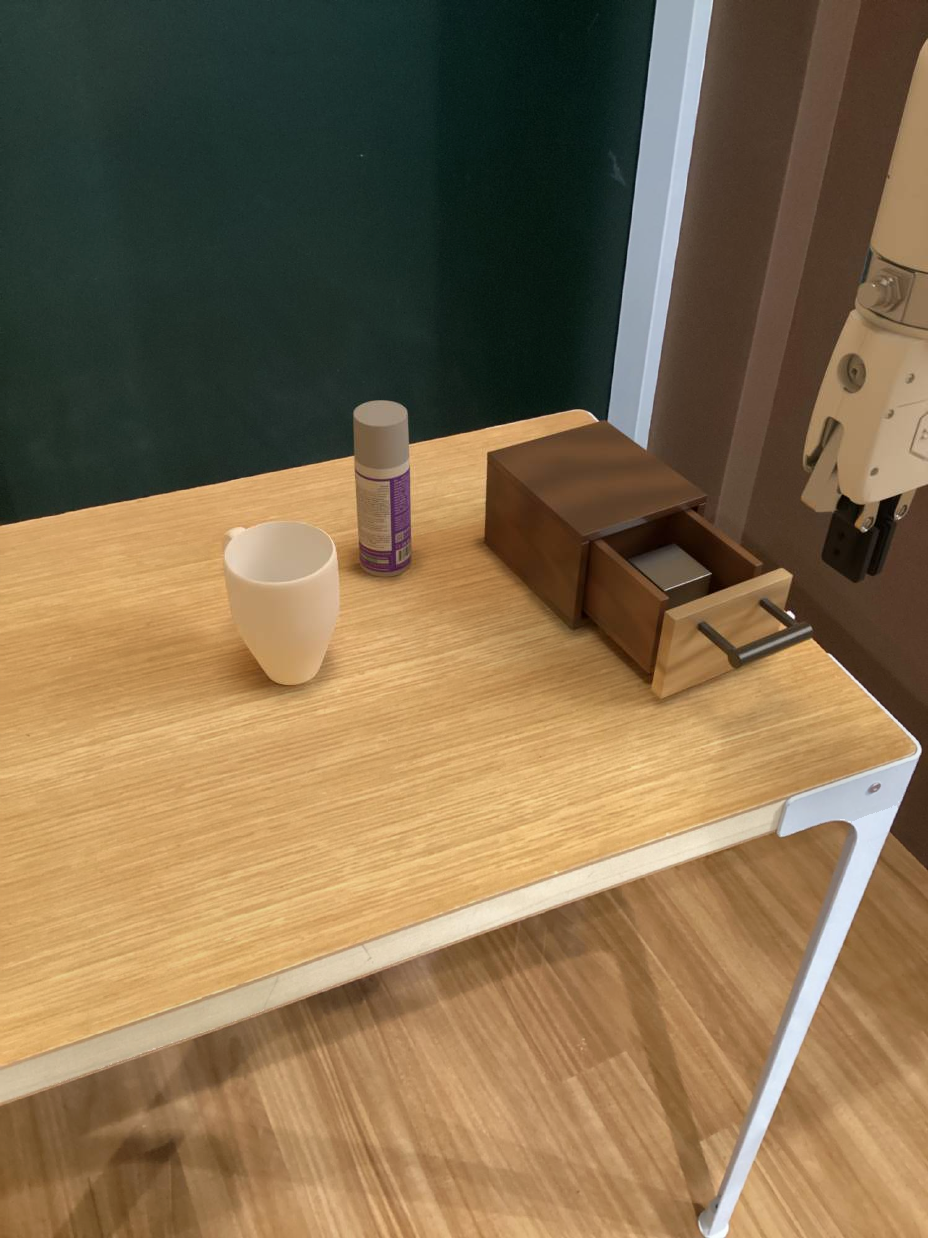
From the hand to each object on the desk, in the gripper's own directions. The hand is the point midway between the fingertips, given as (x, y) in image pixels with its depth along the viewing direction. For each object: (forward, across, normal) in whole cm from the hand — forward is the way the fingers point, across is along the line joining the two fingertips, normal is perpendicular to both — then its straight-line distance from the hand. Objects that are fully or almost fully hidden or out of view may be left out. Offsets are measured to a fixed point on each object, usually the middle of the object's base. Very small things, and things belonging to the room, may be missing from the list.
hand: (850, 566), depth 68 cm
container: (+17, -16, +36) cm, 43 cm away
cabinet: (+17, 0, +27) cm, 32 cm away
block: (+13, 0, +18) cm, 22 cm away
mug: (+17, -29, +28) cm, 44 cm away
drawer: (+16, 0, +13) cm, 21 cm away
